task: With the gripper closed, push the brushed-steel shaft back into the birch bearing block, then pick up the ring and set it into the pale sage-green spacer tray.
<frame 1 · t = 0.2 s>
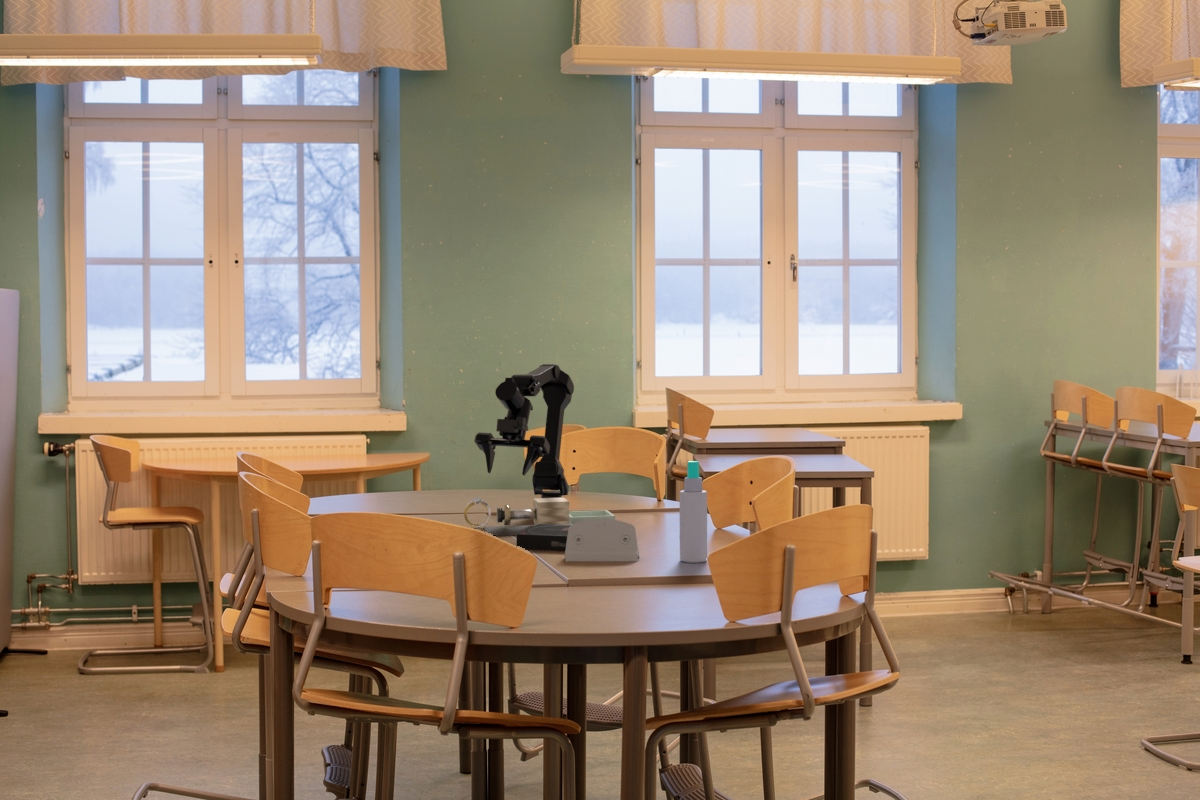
hand: (506, 473, 298), 15 cm above the table, tool tilted 30°, fingers open, 9 cm apart
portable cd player: (561, 547, 283), on the table
shaft: (521, 514, 302), point 5 cm above the table, slide at 6.5 cm
spacer tray: (589, 522, 317), on the table
ring: (477, 528, 310), on the table
spray bottle: (693, 561, 261), on the table
bearing block: (551, 530, 304), on the table
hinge: (602, 559, 265), on the table
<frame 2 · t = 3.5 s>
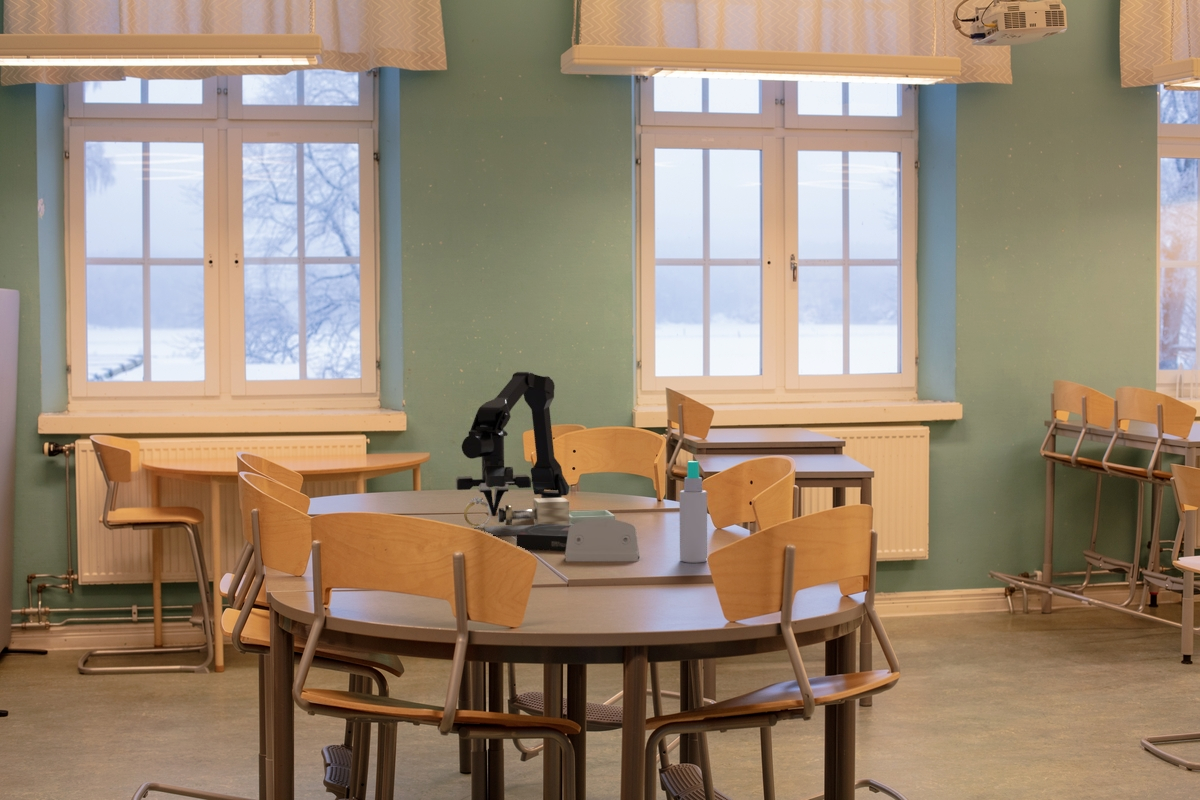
hand: (493, 515, 301), 4 cm above the table, tool pointing down, fingers closed
shaft: (522, 514, 302), point 5 cm above the table, slide at 6.1 cm, touching gripper
everything else where it was.
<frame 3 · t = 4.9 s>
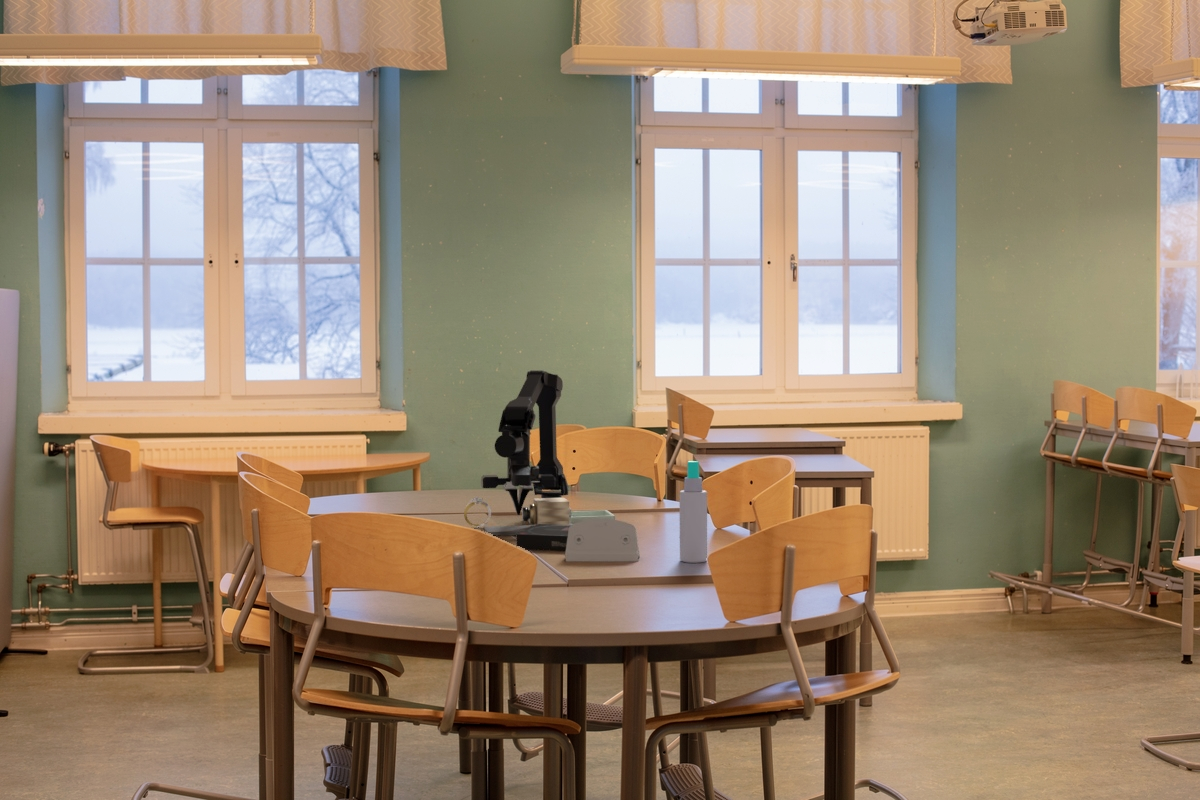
hand: (518, 514, 302), 4 cm above the table, tool pointing down, fingers closed
shaft: (546, 513, 304), point 5 cm above the table, slide at -0.1 cm, touching gripper
everything else where it was.
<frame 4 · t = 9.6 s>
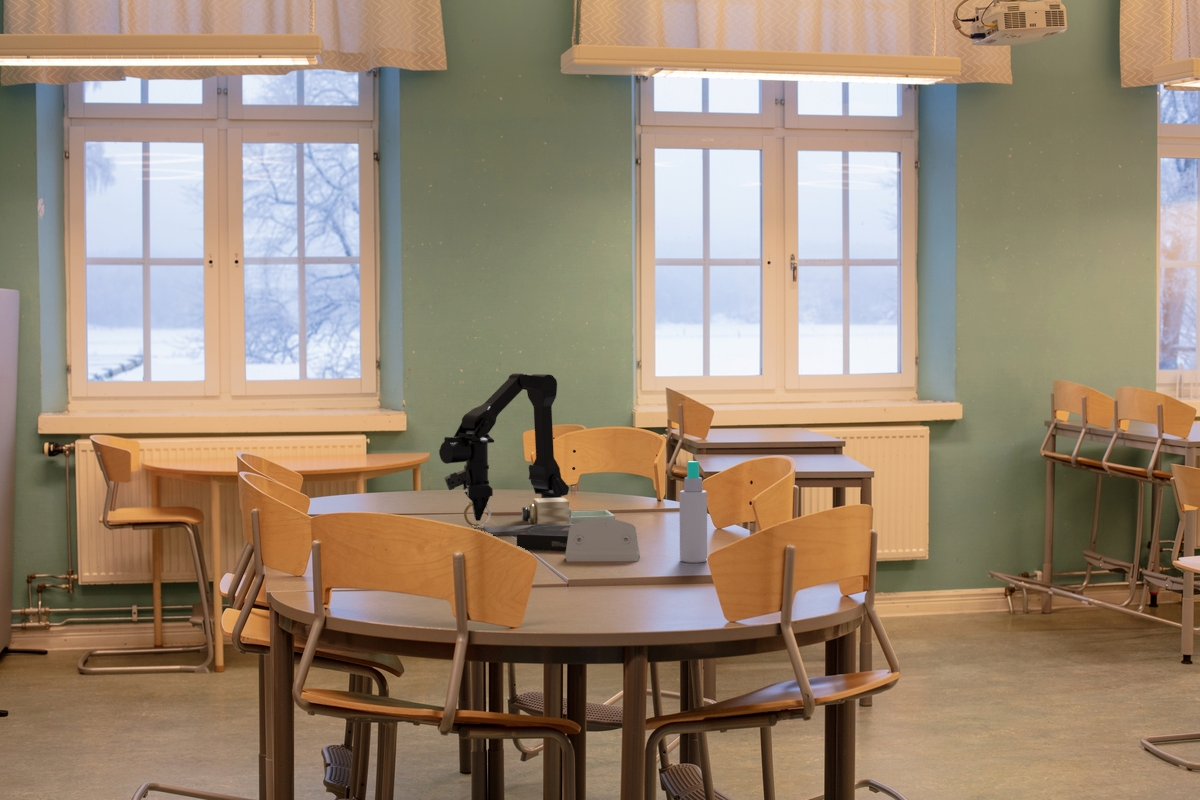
hand: (477, 519, 310), 2 cm above the table, tool pointing down, fingers closed on ring, 2 cm apart
shaft: (546, 513, 304), point 4 cm above the table, slide at 0.0 cm
ring: (477, 528, 310), on the table, touching gripper
everything else where it was.
when the fingers open (4 cm above the table, at t = 14.4 s): ring drops 1 cm, resting on spacer tray.
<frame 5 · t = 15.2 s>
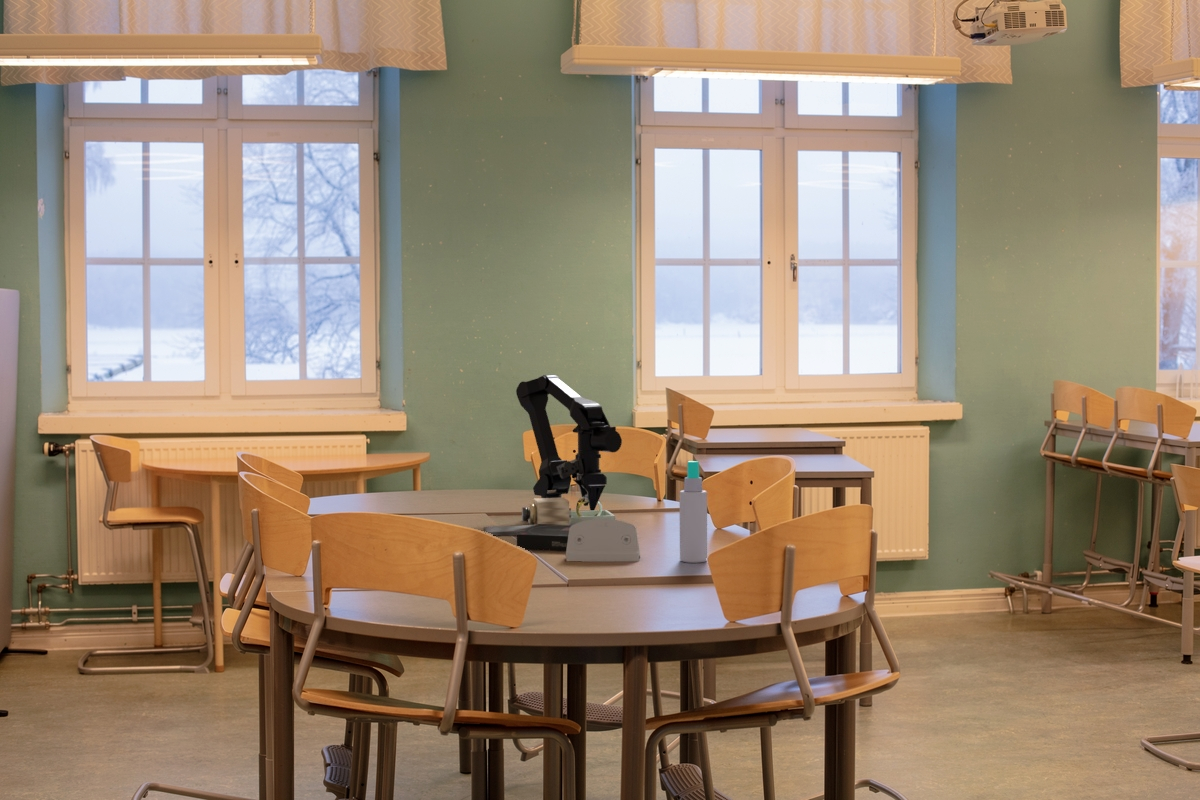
hand: (588, 508, 317), 4 cm above the table, tool pointing down, fingers open, 9 cm apart
ring: (589, 520, 317), point 1 cm above the table, touching gripper, spacer tray
everything else where it was.
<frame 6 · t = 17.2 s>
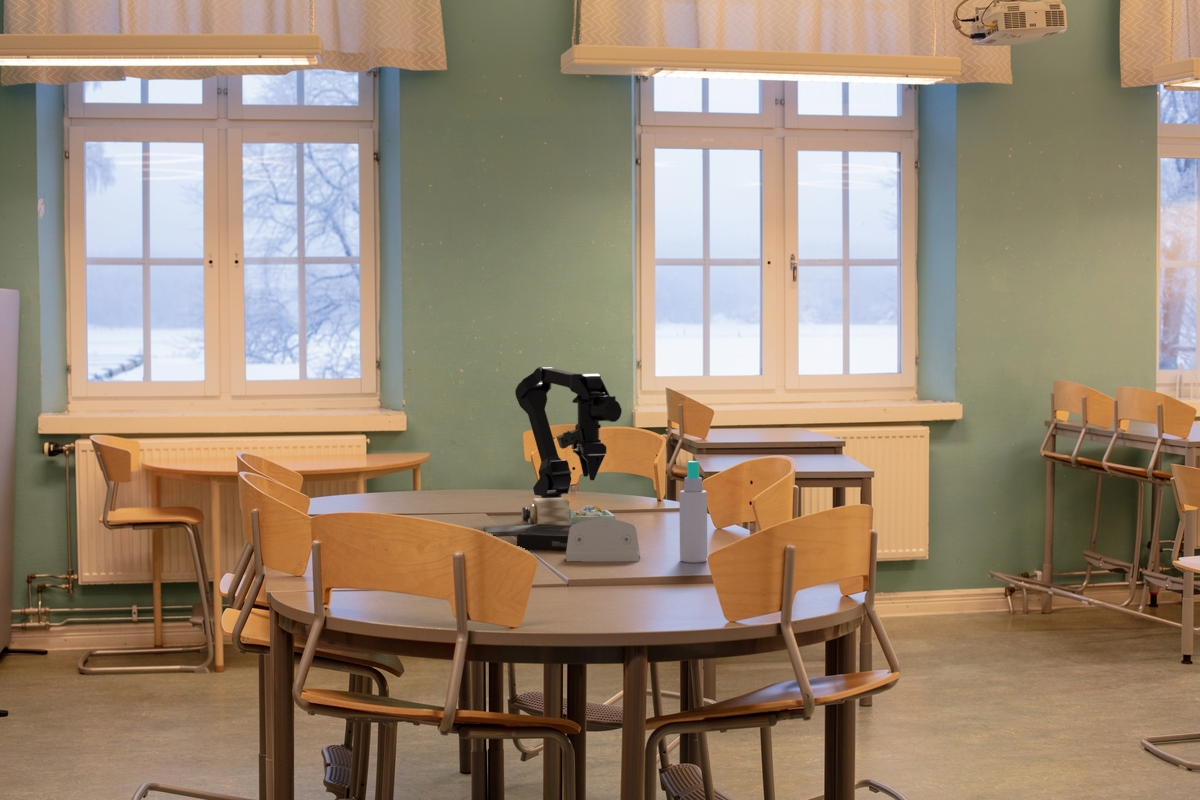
hand: (588, 478, 317), 12 cm above the table, tool pointing down, fingers open, 9 cm apart
ring: (588, 519, 317), point 1 cm above the table, touching spacer tray
everything else where it was.
at the end: shaft slide at 0.0 cm; ring inside the target area on the spacer tray (0.1 cm from its centre), point 0.8 cm above the spacer tray's base; the gripper is holding nothing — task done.
